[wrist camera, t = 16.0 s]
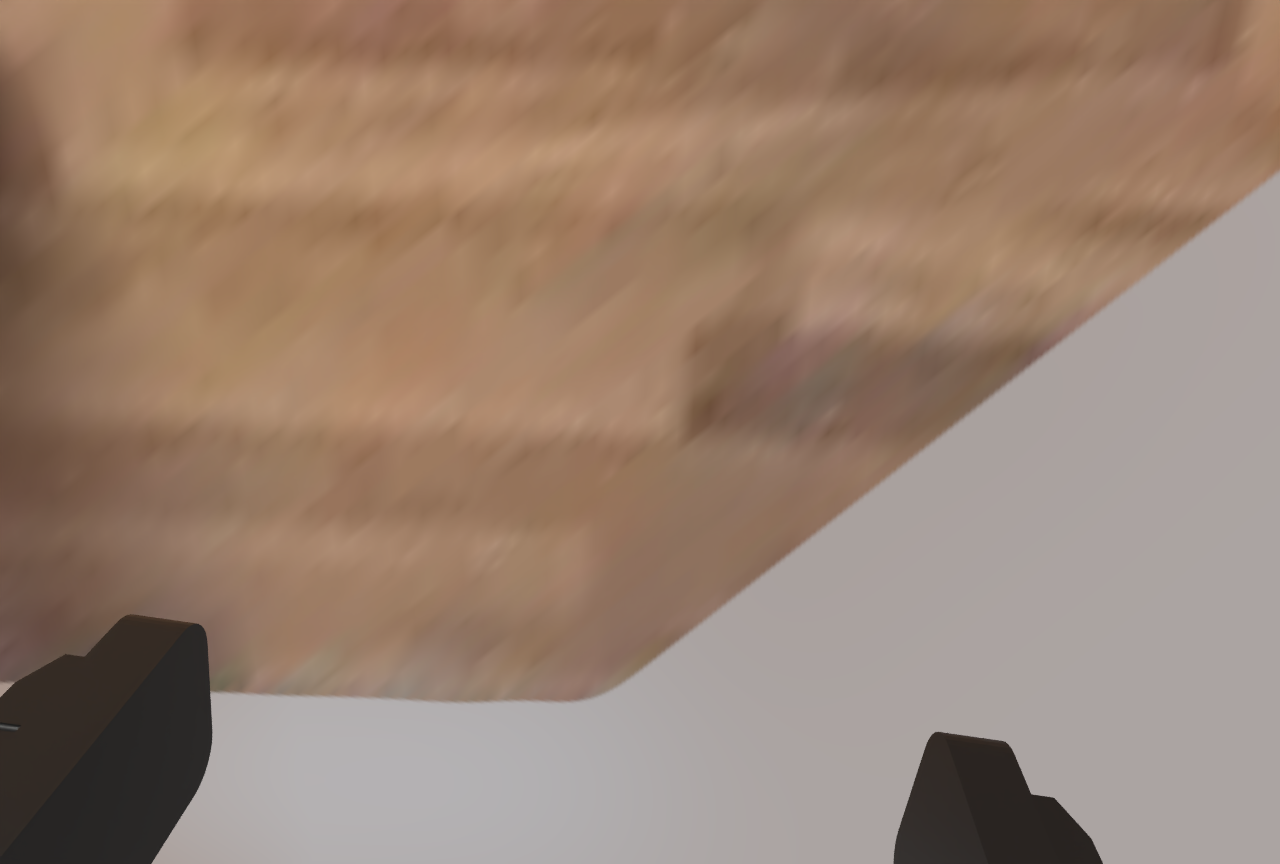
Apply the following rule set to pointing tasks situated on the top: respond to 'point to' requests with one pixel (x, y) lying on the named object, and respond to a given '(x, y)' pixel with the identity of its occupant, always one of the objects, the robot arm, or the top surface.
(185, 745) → the robot arm
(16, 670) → the top surface
